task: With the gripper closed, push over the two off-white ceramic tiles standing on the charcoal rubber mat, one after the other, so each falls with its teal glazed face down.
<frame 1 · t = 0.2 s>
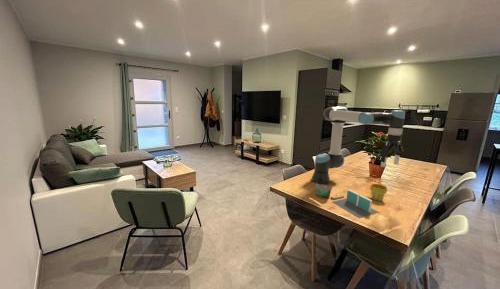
hand: (389, 165, 140), 27 cm above the table, fingers open, 13 cm apart
tile 1: (351, 203, 142), point 1 cm above the table, touching mat
tile 2: (363, 209, 134), point 1 cm above the table, touching mat
plant pot: (376, 199, 152), on the table
food container: (320, 198, 151), on the table
turner: (341, 198, 152), on the table
mat: (354, 208, 137), on the table
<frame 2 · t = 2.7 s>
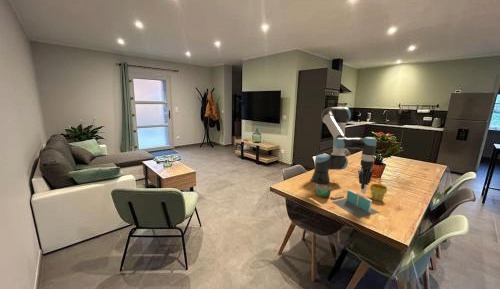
hand: (363, 193, 144), 7 cm above the table, fingers closed
nothing on the table moved.
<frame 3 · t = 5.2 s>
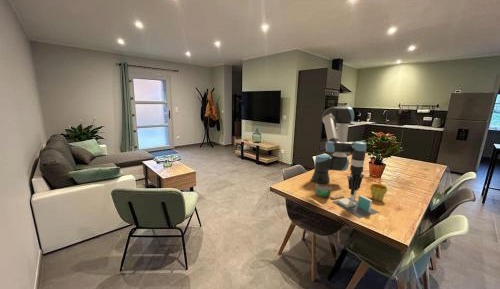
hand: (352, 198, 141), 4 cm above the table, fingers closed
tile 1: (351, 201, 141), point 2 cm above the table, tilted 90°, touching mat
everything else where it was.
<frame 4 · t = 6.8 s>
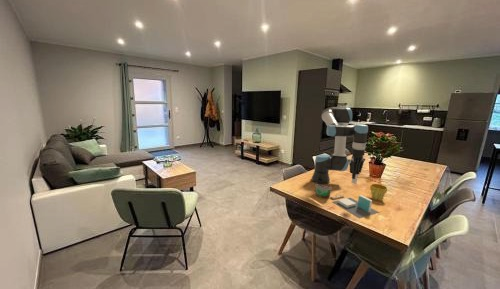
hand: (353, 182, 139), 16 cm above the table, fingers closed
nothing on the table moved.
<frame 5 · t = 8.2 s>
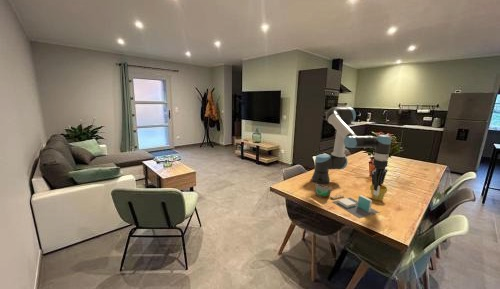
hand: (375, 194, 136), 10 cm above the table, fingers closed
nothing on the table moved.
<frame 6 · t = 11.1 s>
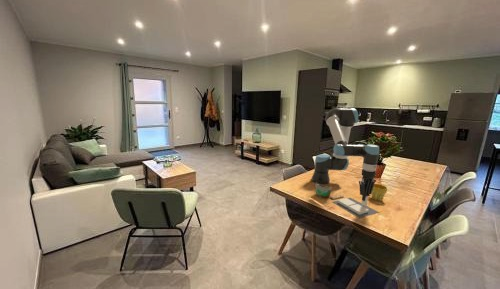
hand: (363, 204, 133), 4 cm above the table, fingers closed
tile 2: (362, 208, 133), point 2 cm above the table, tilted 90°, touching mat
everything else where it was.
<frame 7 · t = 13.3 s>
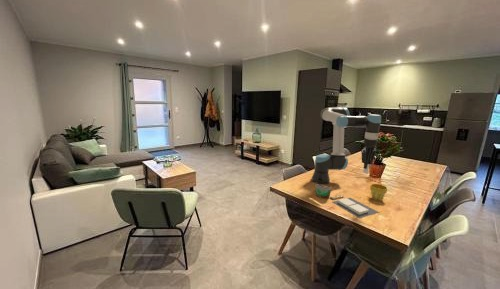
hand: (365, 172, 140), 22 cm above the table, fingers closed
nothing on the table moved.
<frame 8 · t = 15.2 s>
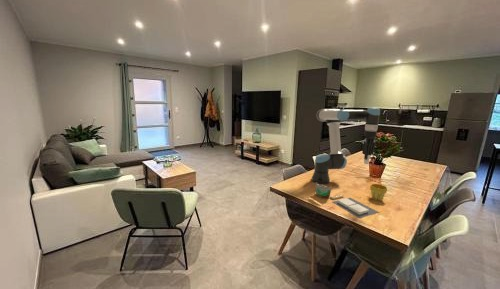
hand: (366, 163, 147), 26 cm above the table, fingers closed
nothing on the table moved.
at the end: tile 1 tilted 90°; tile 2 tilted 90°; tile 1 inside the target area (5.2 cm from its centre), point 2.2 cm above the table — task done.
